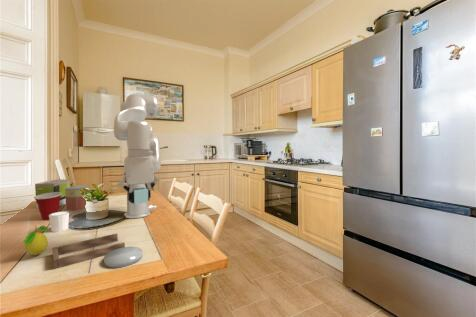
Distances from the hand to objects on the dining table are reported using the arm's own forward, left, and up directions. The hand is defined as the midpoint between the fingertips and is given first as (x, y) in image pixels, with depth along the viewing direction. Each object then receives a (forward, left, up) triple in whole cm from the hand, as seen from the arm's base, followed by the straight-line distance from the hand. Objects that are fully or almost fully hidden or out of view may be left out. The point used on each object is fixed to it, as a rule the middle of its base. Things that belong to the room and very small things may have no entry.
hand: (139, 200), depth 87 cm
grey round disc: (+9, +12, -15) cm, 21 cm away
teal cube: (0, 0, -1) cm, 1 cm away
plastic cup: (+26, -55, -15) cm, 63 cm away
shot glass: (+23, -33, -15) cm, 43 cm away
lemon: (+30, -9, -15) cm, 35 cm away
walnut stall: (+17, 0, -15) cm, 23 cm away
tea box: (+23, -84, -15) cm, 88 cm away
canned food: (+13, -68, -15) cm, 71 cm away
